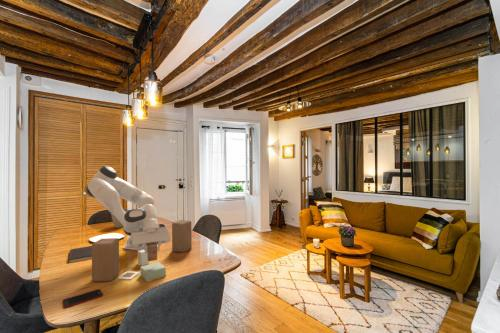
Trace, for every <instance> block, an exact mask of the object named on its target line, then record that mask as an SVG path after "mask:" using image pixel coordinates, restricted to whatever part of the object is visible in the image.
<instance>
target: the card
mask: <svg viewBox="0 0 500 333" xmlns="http://www.w3.org/2000/svg"><path fill="white" fill-rule="evenodd" d="M139 274H141V271H130V270H128V271H124V272H123V273H121V275H119V276H117V278H116V280H127V281H128V280H129V281H131V280H133V279H134V278H136V277H137V276H138V275H139Z"/></svg>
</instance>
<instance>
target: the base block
mask: <svg viewBox="0 0 500 333" xmlns="http://www.w3.org/2000/svg"><path fill="white" fill-rule="evenodd" d="M139 267H140V276H141V278H143V279H144V281H145V282H146V283H148V282H151V281H155V280H156V279H161V278H164V277H166V276H167V267H166V266H165V265H163V264H162V263H161V262H160V261H156V262H151V263H149V264H146V265H143V266H139Z"/></svg>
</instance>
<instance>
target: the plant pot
mask: <svg viewBox="0 0 500 333" xmlns="http://www.w3.org/2000/svg"><path fill="white" fill-rule="evenodd" d="M123 210H124V211H125V212H127V211H129V209H128V208H123ZM110 214H111V213H110ZM111 220H112V222H113V226H114V227H115V228H116V229H119V228H123V226H122V225H121V224H120V223H119V222H118V221H117V219H116V218H115V217H114V216H113V215H112V214H111Z"/></svg>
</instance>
